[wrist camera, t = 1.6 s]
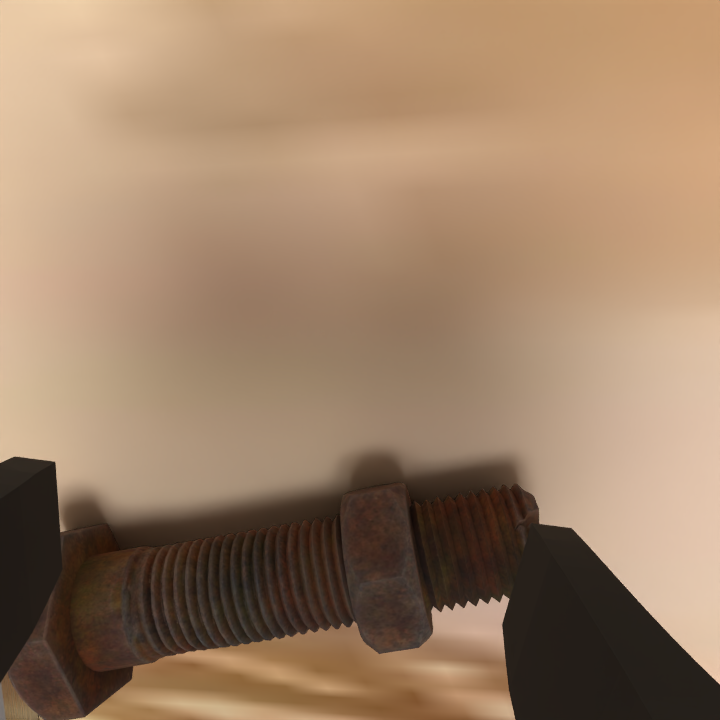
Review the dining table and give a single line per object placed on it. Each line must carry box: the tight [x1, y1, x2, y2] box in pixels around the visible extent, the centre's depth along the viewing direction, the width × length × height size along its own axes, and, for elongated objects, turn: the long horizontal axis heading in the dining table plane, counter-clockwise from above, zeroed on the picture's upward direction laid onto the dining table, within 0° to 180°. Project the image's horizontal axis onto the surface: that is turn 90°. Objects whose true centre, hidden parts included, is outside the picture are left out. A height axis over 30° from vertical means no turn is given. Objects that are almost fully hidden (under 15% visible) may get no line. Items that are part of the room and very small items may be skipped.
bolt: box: [8, 483, 539, 720], centre depth 20 cm, size 6×5×15 cm
